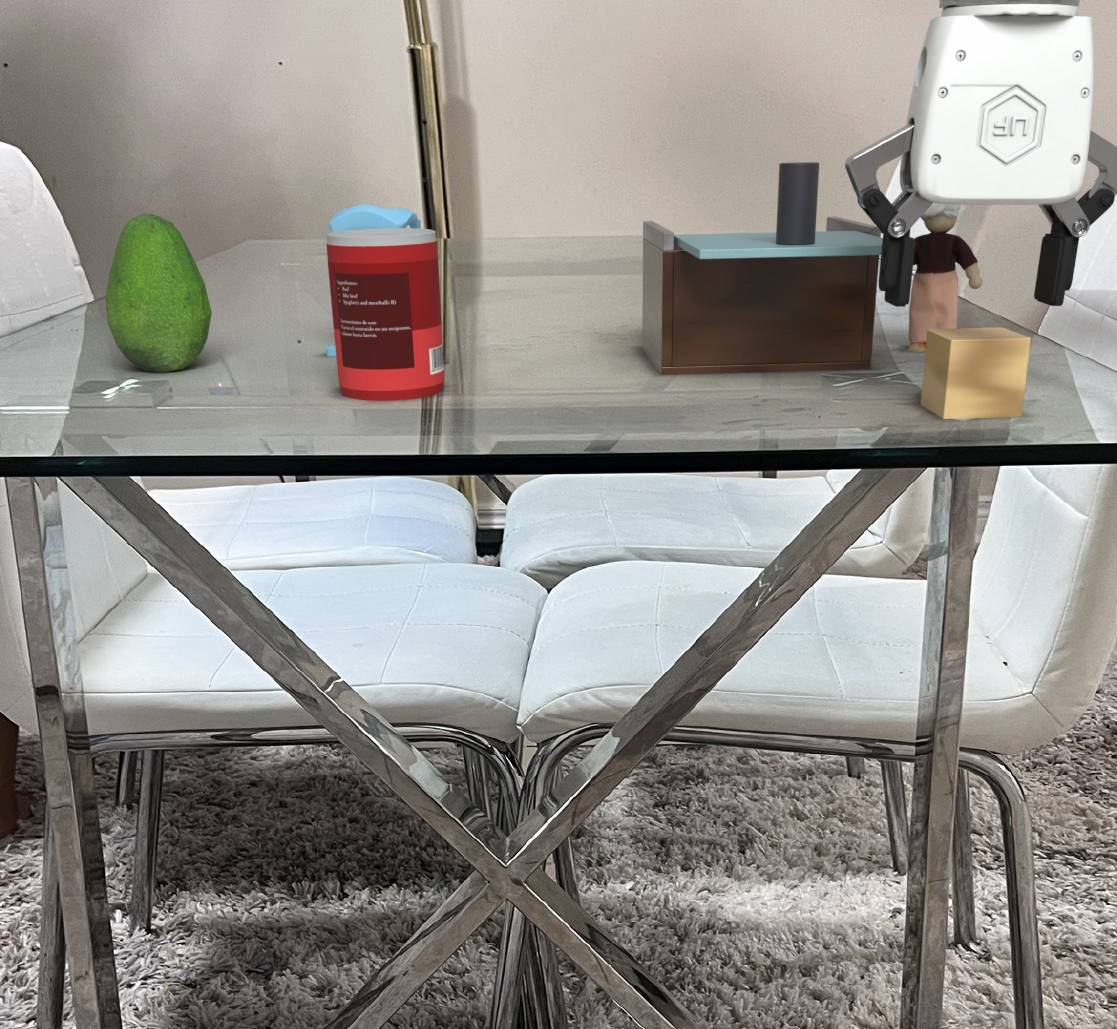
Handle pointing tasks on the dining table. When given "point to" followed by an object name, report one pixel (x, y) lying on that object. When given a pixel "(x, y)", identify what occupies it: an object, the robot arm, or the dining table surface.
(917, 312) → the grandmother figurine
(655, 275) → the box
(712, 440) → the dining table surface
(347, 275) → the canned food
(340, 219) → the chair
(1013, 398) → the block
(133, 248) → the avocado
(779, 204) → the lid
